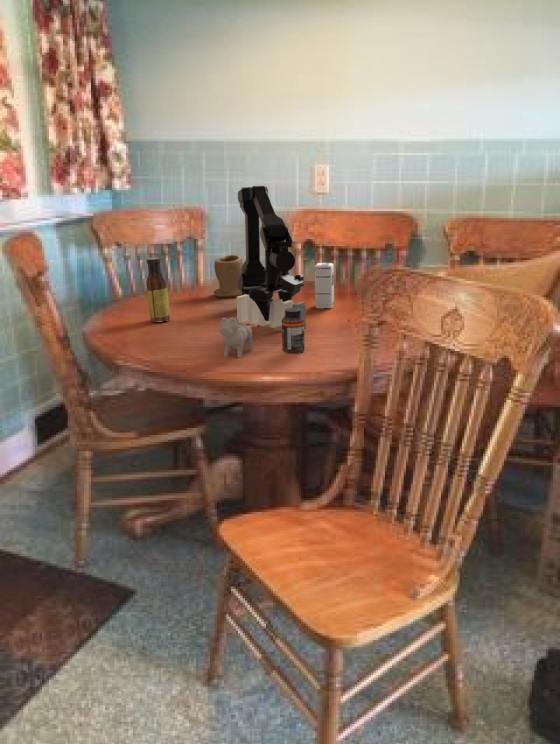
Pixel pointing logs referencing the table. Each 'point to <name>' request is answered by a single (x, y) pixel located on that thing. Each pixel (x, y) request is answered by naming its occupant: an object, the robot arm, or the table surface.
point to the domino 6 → (301, 310)
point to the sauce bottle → (157, 292)
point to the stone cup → (228, 275)
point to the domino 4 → (275, 313)
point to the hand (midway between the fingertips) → (276, 317)
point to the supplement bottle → (293, 331)
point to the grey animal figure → (235, 335)
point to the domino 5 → (284, 306)
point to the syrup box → (324, 285)
